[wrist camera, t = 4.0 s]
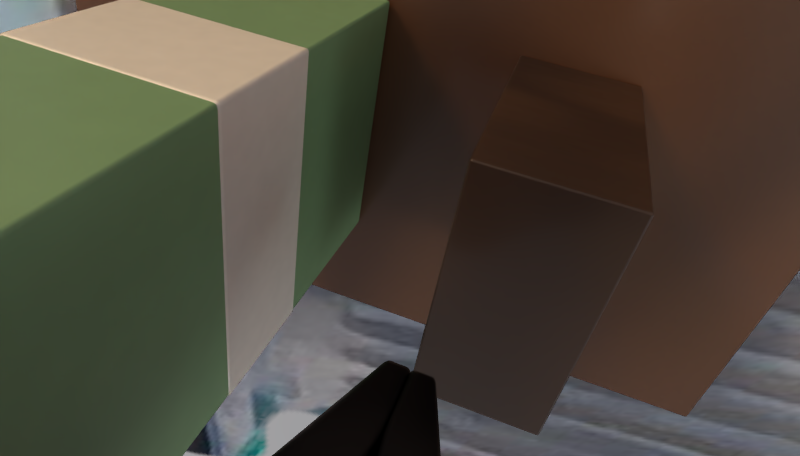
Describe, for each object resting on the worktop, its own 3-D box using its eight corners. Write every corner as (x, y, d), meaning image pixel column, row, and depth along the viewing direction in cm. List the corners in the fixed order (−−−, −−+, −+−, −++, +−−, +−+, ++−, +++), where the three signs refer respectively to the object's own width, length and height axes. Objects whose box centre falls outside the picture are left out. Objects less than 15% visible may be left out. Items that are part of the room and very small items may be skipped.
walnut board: (124, 207, 22) (-26, 314, 17) (50, -243, 14) (-281, -299, 9) (684, 403, 19) (709, 613, 14) (1022, -46, 11) (1409, 52, 5)
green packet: (300, 172, 20) (-161, 298, 13) (313, -39, 16) (-359, -29, 9) (493, 341, 15) (-95, 714, 8) (586, 95, 11) (-505, 400, 4)
